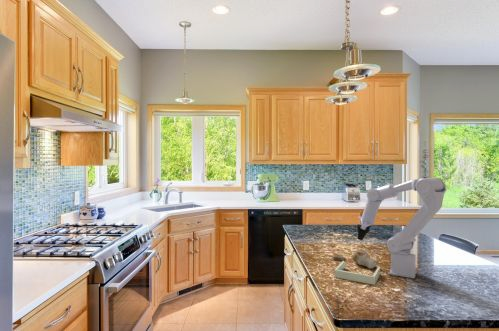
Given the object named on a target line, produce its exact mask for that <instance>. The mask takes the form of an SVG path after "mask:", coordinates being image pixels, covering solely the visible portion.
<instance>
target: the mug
mask: <svg viewBox="0 0 499 331" xmlns="http://www.w3.org/2000/svg"><path fill="white" fill-rule="evenodd" d="M352 260H353V262H354V263H355V264H356V265H359V266H363V267H366V268H368V269H369V270H372V269H374V268H376V269H377V268H378V265H377V264H376V262H375V260H373V259H372V258H371V257H370V255H369V253H368V252H367V251H366V250H364V249H362V248H359V249H357V250H355V252H354V253H353V255H352Z"/></svg>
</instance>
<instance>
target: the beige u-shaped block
mask: <svg viewBox="0 0 499 331" xmlns="http://www.w3.org/2000/svg"><path fill="white" fill-rule="evenodd" d="M345 266H346V264H345V260H344V261H340V263H339V264H338V265H337V267H335V269H334V271H333V272H334V273H333V274H334V275H333V276H334V278H338V279H342V280H343V279H344V280H349V281H352V282H358V283H364V284H369V285H373V286H375V285H376V284H377V281H378V279H379V277H380V275H381V266H377V268H376V269H375V271H374V273H373V275H369V274H363V273H359V272H352V271H348V270H347V271H346V270H345V268H346V267H345Z"/></svg>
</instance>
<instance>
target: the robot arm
mask: <svg viewBox="0 0 499 331" xmlns="http://www.w3.org/2000/svg"><path fill="white" fill-rule="evenodd" d="M412 190H413V191H415V192H417V193H418V195H419V197H420V199H421V200H422V202H423V204H422V205H421V207H420V208H419V209H418V210H417V212H416V213H414V215H413V217H412V218H410V220H409V221H408V223H407V224H406V225H405V226H404V227H403V228H402V230H401V231H398V232H397V233H396V234H394V236H392V237H389V238H388V239H387V242H386V246H387V249H388V250H389V253H390V270H389V272H388V275H393V276H397V277H404V278H409V279H415V278H416V274H417V268H416V266H417V265H416V264H417V262H416V261H417V260H416V259H417V258H416V254H414V253H411V250H412V249H413V248H414V245H415V242H416V241H417V238H416V237H417V236H418V235H419V234H420V233H421V231H422V230H423V229H424V228H425V227H426V226H427V225H428V223H429V222H430V221H431V220H432V219H433V218H434V217H435V215H436V214H437V213H438V212H439V211H440V210H441V208H442V206H443V200H444V196H445V193H446V192H447V186H446V182H445V181H444V180H443V179H441V178H440V177H431V178H429V177H428V178H426V177H425V178H424V177H422V178H417V179H411V180H408V181H405V182H402V183H400V184H397V185H396V184H394V183H390V182H387V183H385V185H382V186H381V185H380V186H379V185H378V186H377V187H376V188H374V187H373V188H370V189H368V190H367V192H366V197H367V200H366V203H365V207H364V208H363V212H362V215H361V216H358V220H360V223H359V224H357V226H356V228H357V240H359V241H361V242H363V240H364V238H365V237H366V235H367V234H368V233H369V232H370V231H371V229H370V228H371V227H372V226H373V225H374V224H375V220H376V217H377V214H378V211H379V208H380V205H381V204H382V202H383V201H384V200H387V199H390V198H395V197H397V196H398V195H399V193H403V192H407V191H412Z"/></svg>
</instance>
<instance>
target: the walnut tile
mask: <svg viewBox="0 0 499 331" xmlns="http://www.w3.org/2000/svg"><path fill="white" fill-rule="evenodd" d="M332 260H333V261H335V262H336V261H338V262H342V261H345V257H344V254H341V253H340V254H339V253H333V254H332Z"/></svg>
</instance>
